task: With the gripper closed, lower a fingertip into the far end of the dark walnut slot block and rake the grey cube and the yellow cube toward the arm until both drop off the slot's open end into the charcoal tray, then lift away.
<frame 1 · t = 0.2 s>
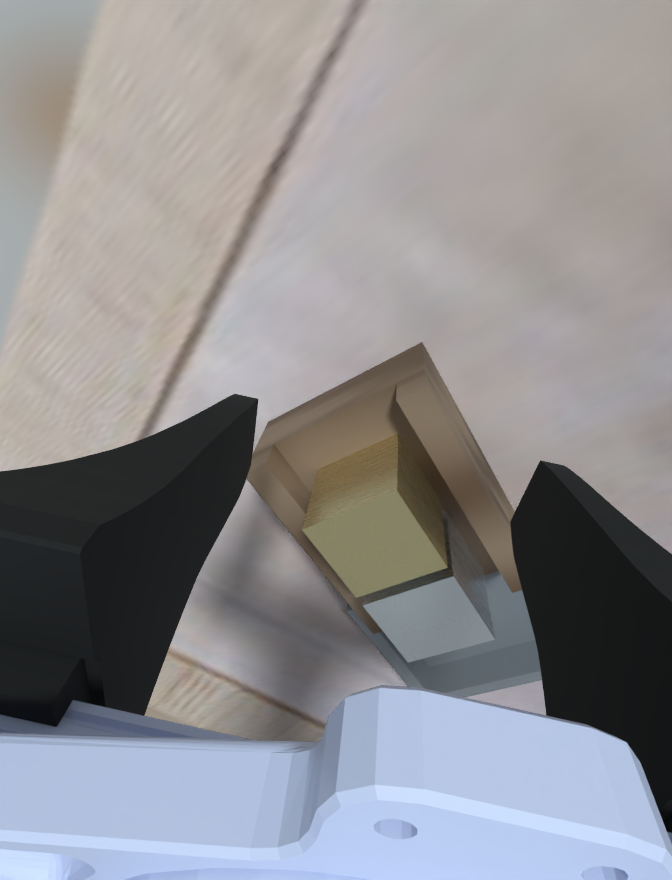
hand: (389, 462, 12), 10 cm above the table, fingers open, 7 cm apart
yellow cube: (379, 485, 22), point 3 cm above the table, touching slot block
grey cube: (425, 553, 24), point 3 cm above the table, touching slot block
tray: (479, 599, 29), on the table
slot block: (396, 471, 25), on the table
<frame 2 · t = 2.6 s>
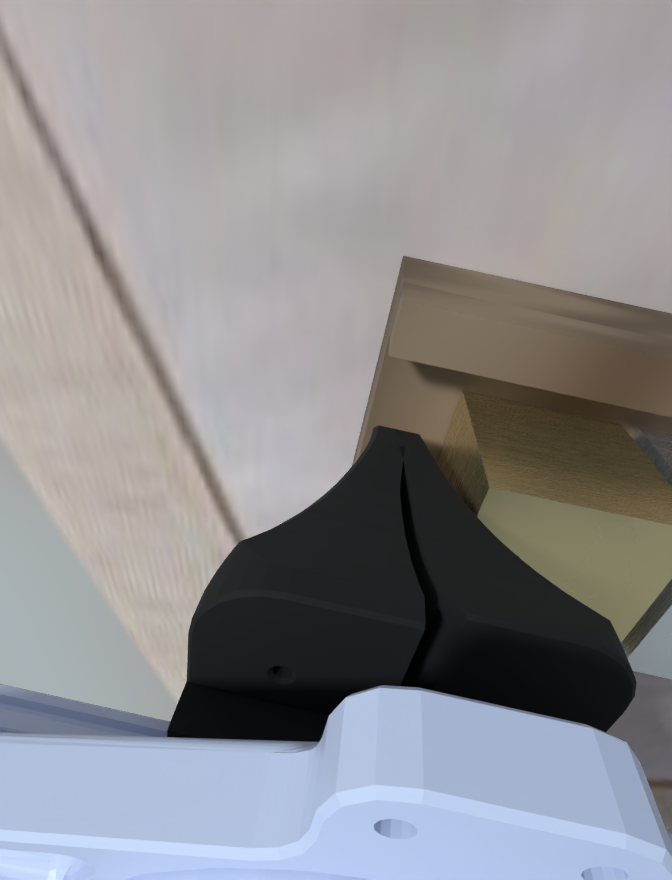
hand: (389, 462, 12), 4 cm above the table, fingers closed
yellow cube: (511, 471, 13), point 3 cm above the table, touching gripper, slot block
slot block: (538, 426, 16), on the table
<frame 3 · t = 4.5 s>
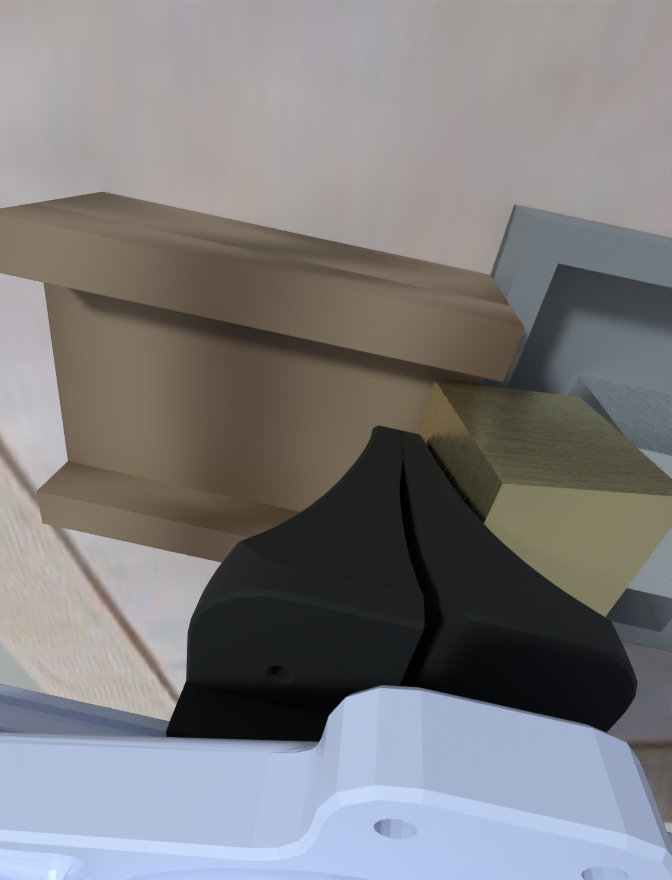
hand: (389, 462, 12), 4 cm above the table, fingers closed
yellow cube: (482, 454, 13), point 3 cm above the table, tilted 14°, touching gripper, grey cube
grey cube: (567, 468, 14), point 2 cm above the table, tilted 90°, touching yellow cube, tray
tray: (590, 438, 16), on the table
slot block: (278, 370, 16), on the table
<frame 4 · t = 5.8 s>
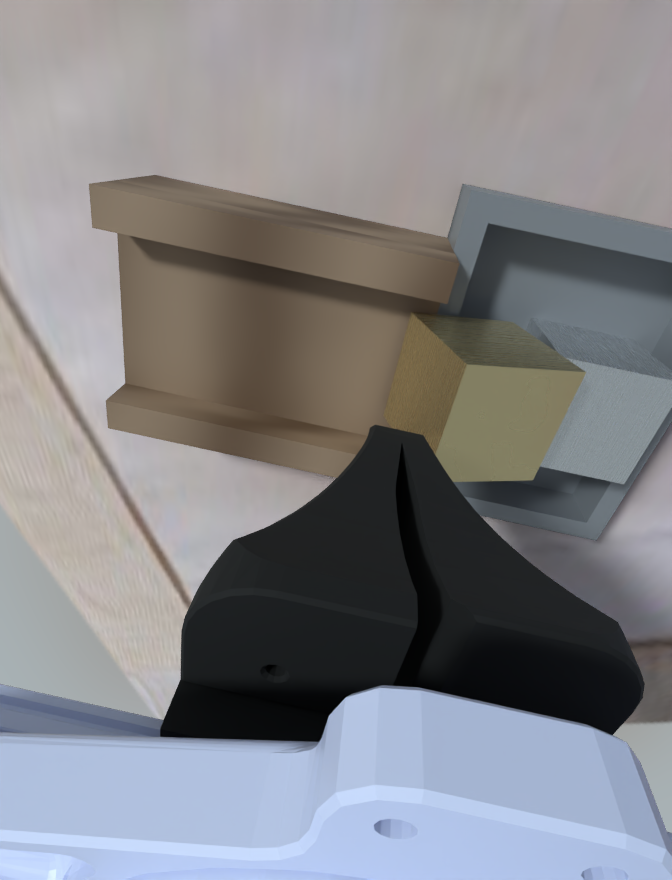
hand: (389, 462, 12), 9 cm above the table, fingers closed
yellow cube: (446, 369, 18), point 3 cm above the table, tilted 21°, touching slot block, grey cube
grey cube: (522, 386, 18), point 3 cm above the table, tilted 90°, touching yellow cube, tray
tray: (529, 369, 20), on the table
slot block: (286, 316, 20), on the table
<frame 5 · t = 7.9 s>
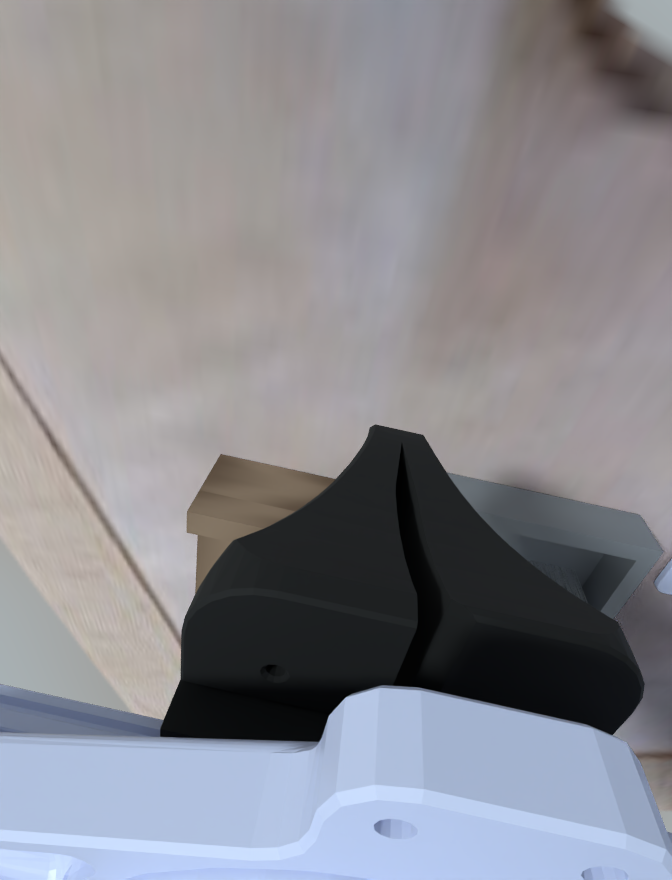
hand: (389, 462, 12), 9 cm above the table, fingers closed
grey cube: (490, 610, 25), point 3 cm above the table, tilted 90°, touching yellow cube, tray
tray: (498, 578, 27), on the table
slot block: (314, 538, 27), on the table
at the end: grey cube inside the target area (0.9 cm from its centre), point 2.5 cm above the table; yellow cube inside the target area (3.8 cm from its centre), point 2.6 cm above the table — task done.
